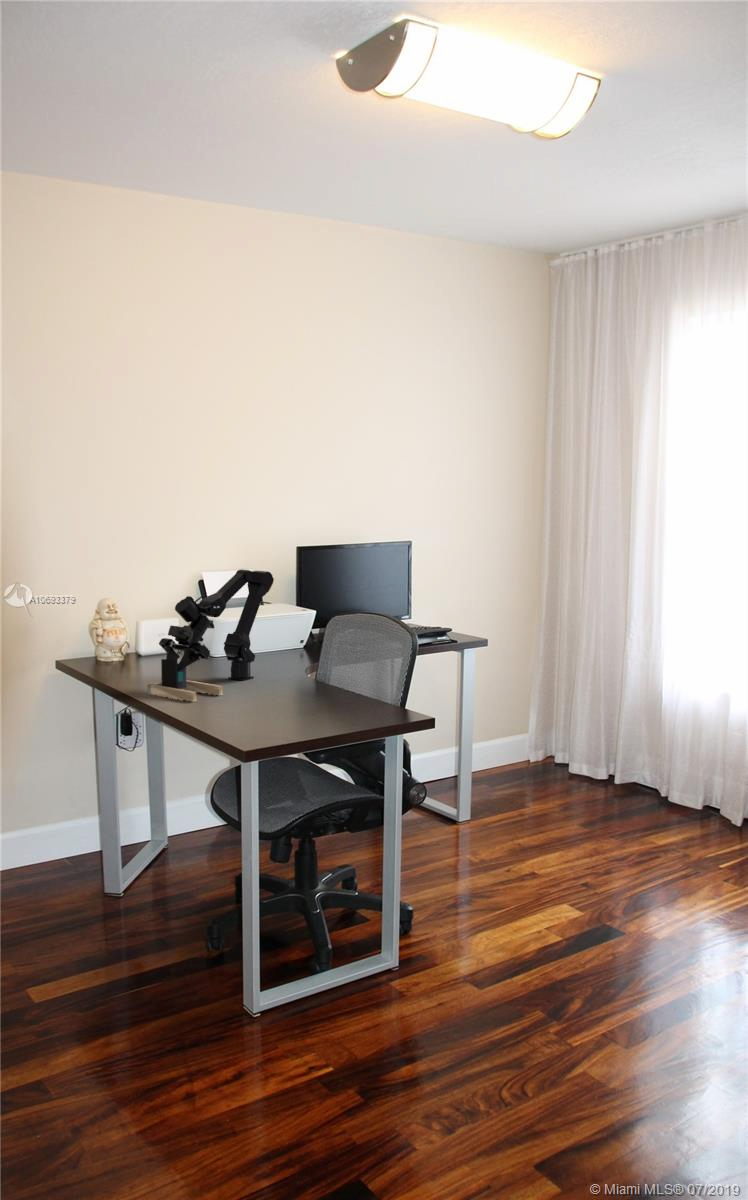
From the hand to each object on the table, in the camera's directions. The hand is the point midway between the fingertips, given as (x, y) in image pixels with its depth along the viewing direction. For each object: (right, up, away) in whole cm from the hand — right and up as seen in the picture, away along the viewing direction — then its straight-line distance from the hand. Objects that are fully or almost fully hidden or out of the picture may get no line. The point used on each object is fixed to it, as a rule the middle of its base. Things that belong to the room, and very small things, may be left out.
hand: (171, 669), depth 312 cm
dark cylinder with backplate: (+1, -7, +2) cm, 7 cm away
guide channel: (+5, -8, -1) cm, 9 cm away
